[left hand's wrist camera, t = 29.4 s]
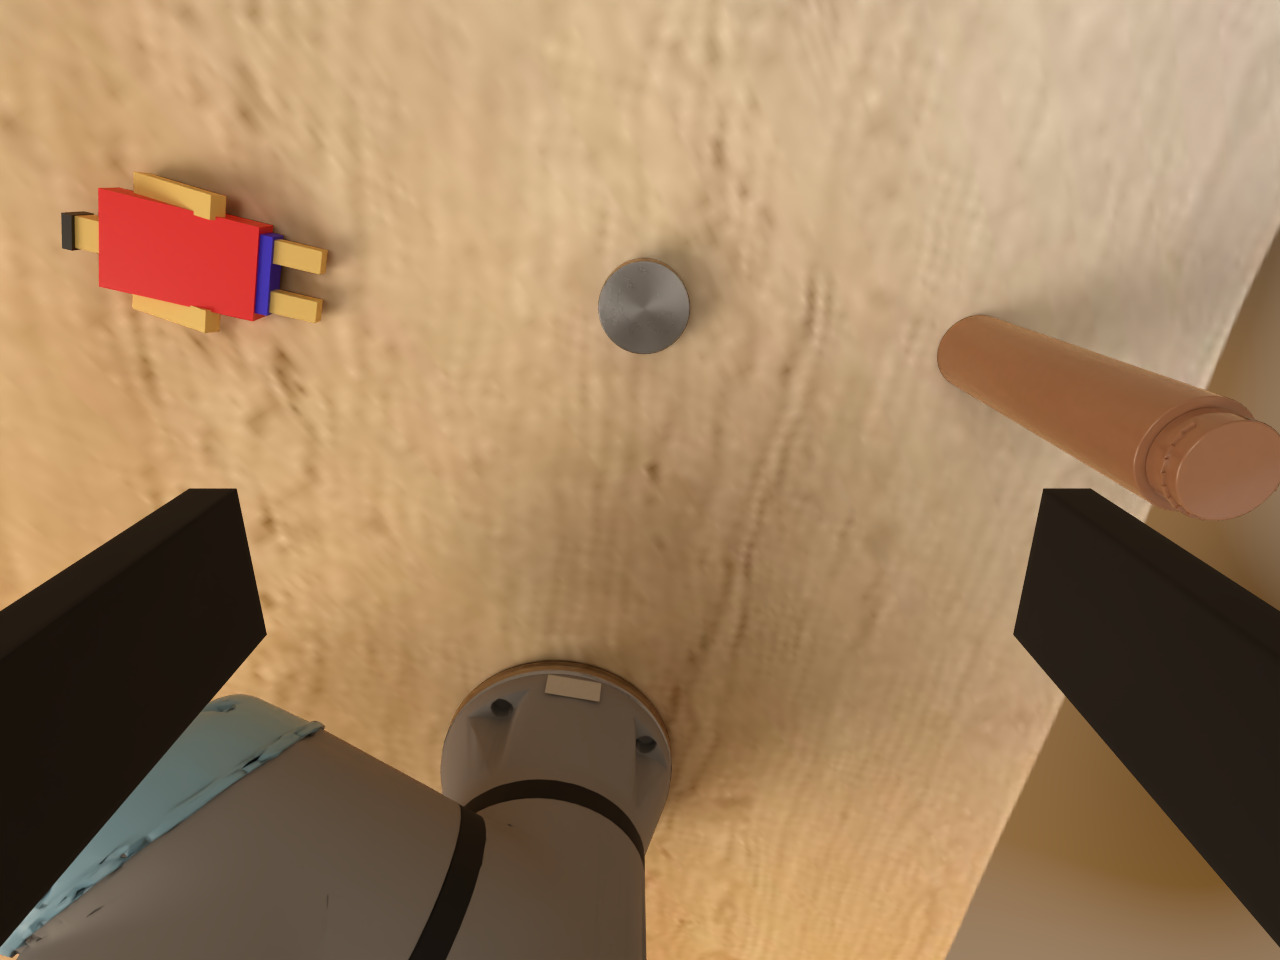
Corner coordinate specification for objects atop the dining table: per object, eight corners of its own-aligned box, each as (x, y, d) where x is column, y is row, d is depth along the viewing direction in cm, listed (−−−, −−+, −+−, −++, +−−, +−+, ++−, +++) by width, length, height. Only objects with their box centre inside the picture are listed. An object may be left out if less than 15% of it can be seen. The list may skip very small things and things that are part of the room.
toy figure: (319, 222, 37) (56, 156, 35) (307, 355, 39) (60, 301, 37) (335, 219, 39) (89, 158, 37) (323, 346, 41) (90, 293, 40)
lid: (701, 279, 40) (704, 283, 38) (666, 360, 41) (668, 367, 40) (619, 243, 39) (618, 246, 37) (587, 327, 41) (584, 333, 39)
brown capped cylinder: (925, 377, 42) (1141, 514, 24) (954, 306, 40) (1207, 394, 22) (992, 396, 42) (1254, 544, 24) (1023, 326, 41) (1326, 427, 23)
